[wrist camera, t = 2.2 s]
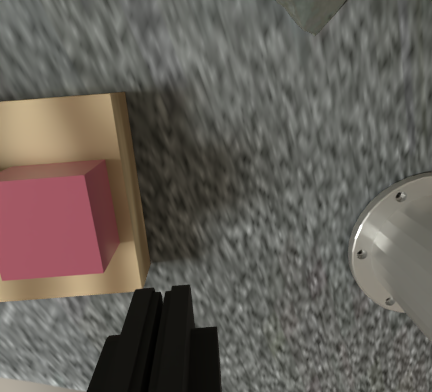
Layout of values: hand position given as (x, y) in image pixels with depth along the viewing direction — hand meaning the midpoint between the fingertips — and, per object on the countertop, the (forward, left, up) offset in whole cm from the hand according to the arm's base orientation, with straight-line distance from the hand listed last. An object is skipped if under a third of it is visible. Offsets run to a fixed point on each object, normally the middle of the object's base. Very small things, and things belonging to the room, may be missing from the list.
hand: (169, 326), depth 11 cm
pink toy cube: (+8, 0, -13) cm, 15 cm away
